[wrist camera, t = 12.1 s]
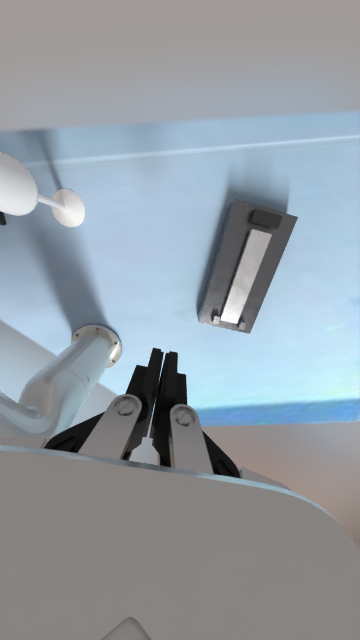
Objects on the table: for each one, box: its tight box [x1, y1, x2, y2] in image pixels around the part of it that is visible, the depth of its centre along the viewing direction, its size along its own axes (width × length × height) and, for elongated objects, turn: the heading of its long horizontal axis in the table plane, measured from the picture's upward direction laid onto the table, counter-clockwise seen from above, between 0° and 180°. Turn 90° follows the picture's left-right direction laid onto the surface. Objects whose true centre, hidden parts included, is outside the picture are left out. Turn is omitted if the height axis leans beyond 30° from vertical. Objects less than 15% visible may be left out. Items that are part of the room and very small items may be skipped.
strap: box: [220, 229, 272, 324], centre depth 36 cm, size 18×4×1 cm, turn 167°
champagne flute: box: [0, 152, 85, 227], centre depth 24 cm, size 7×7×24 cm
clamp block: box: [197, 199, 298, 334], centre depth 37 cm, size 24×12×6 cm, turn 167°
